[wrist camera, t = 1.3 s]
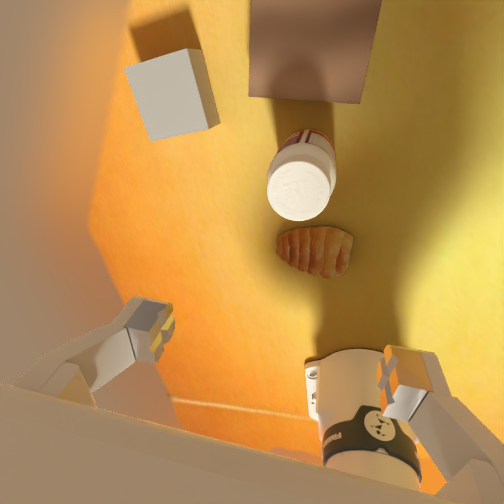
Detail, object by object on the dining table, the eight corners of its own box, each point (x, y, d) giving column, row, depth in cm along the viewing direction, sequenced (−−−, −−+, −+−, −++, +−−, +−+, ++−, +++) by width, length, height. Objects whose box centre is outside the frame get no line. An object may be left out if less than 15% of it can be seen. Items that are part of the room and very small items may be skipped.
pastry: (276, 261, 42) (272, 277, 39) (279, 217, 38) (274, 231, 35) (345, 270, 40) (346, 288, 37) (355, 225, 36) (357, 240, 33)
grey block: (220, 122, 34) (208, 129, 30) (167, 134, 36) (150, 141, 32) (202, 49, 30) (186, 48, 27) (144, 67, 32) (123, 67, 29)
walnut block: (356, 99, 29) (359, 104, 26) (257, 93, 31) (248, 96, 28) (385, -40, 24) (393, -57, 20) (263, -39, 25) (253, -55, 22)
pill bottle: (278, 182, 35) (259, 224, 26) (280, 126, 32) (259, 152, 23) (331, 185, 34) (331, 230, 25) (339, 128, 31) (342, 156, 22)
